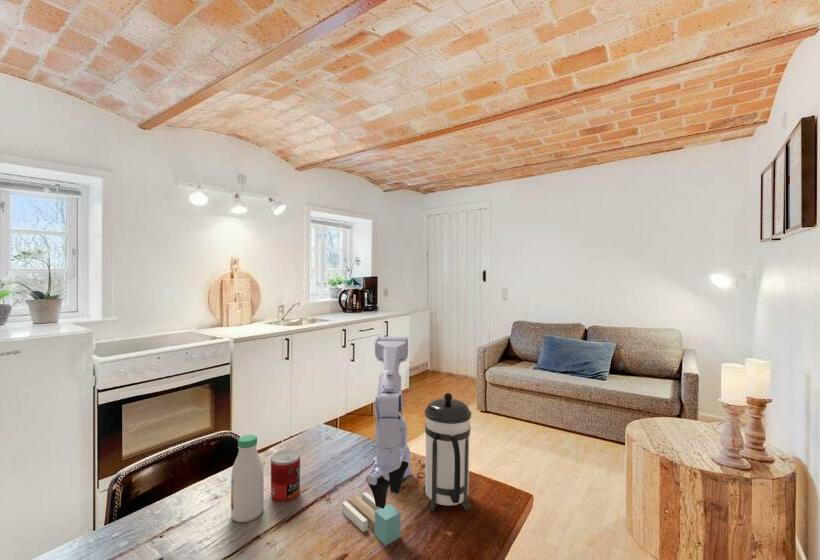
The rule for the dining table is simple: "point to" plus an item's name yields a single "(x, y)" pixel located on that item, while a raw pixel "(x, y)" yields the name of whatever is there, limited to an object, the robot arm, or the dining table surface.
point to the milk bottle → (247, 481)
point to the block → (387, 524)
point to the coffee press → (447, 452)
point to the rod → (363, 510)
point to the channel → (355, 515)
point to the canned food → (285, 475)
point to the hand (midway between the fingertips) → (387, 499)
